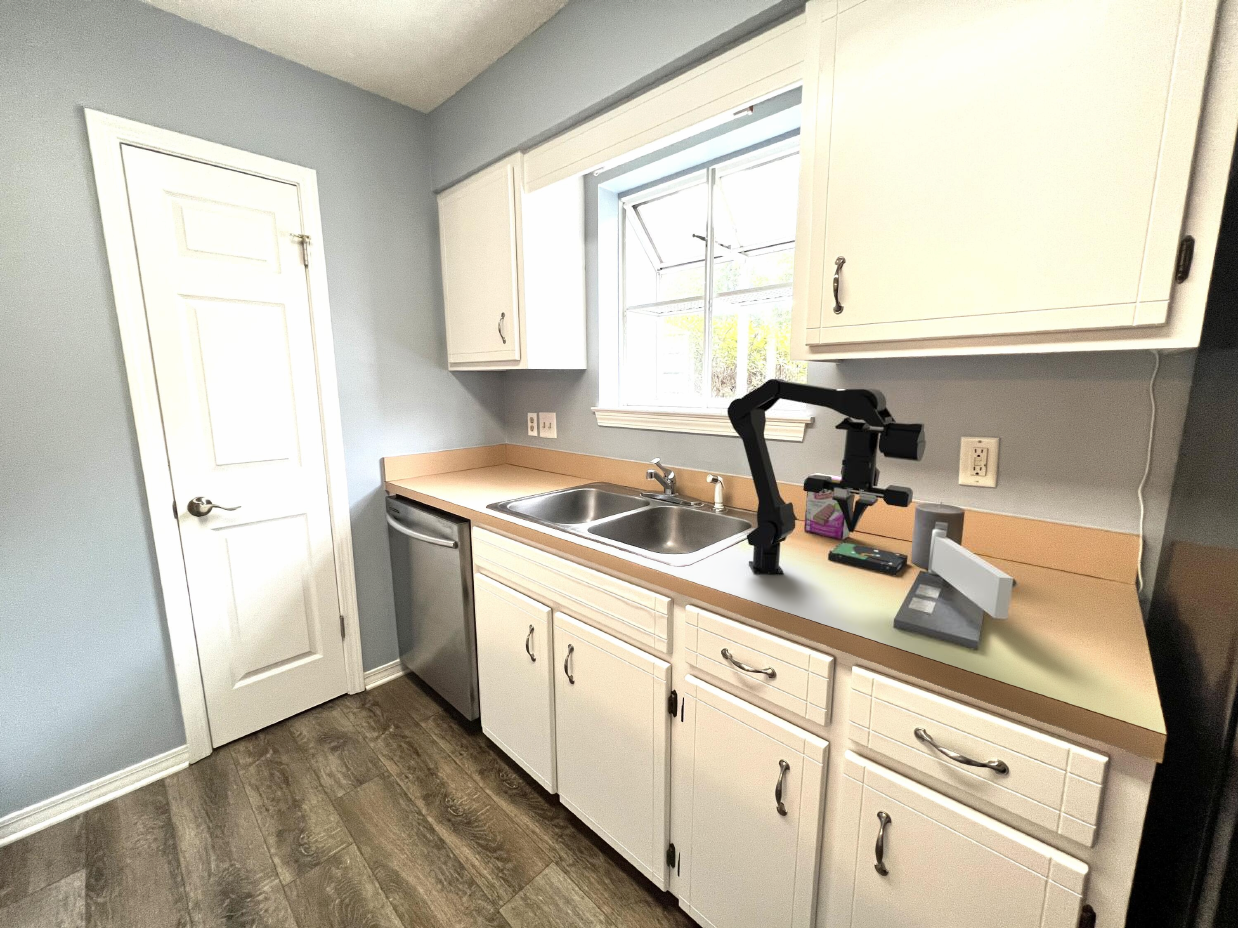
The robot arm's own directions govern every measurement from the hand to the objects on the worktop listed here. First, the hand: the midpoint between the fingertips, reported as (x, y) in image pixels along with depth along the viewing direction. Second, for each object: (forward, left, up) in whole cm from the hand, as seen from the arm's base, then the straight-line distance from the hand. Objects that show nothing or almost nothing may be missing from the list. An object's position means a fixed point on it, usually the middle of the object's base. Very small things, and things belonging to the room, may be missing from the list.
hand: (851, 531), depth 100 cm
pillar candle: (-17, +26, -13) cm, 34 cm away
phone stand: (+6, +16, -13) cm, 21 cm away
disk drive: (-18, +12, -13) cm, 25 cm away
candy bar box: (-39, +9, -13) cm, 42 cm away
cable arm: (+7, +19, -10) cm, 22 cm away
